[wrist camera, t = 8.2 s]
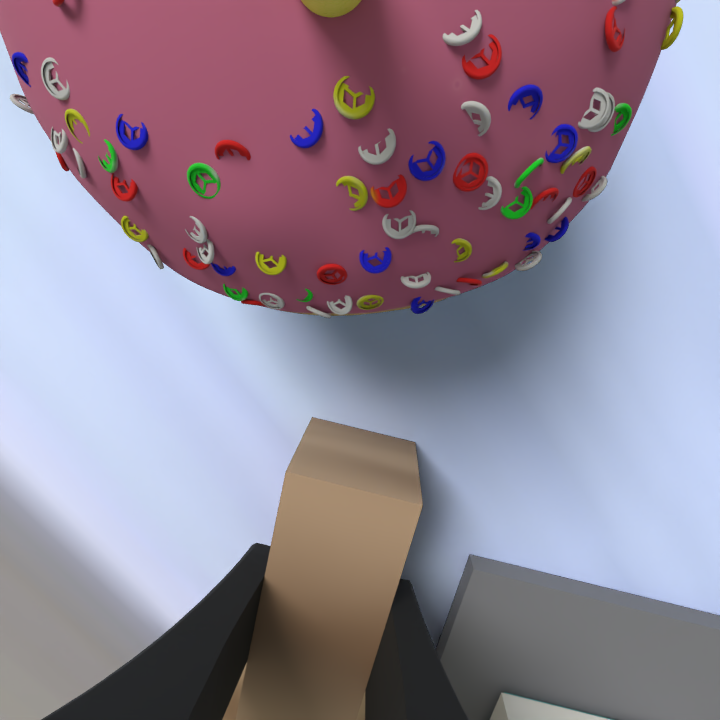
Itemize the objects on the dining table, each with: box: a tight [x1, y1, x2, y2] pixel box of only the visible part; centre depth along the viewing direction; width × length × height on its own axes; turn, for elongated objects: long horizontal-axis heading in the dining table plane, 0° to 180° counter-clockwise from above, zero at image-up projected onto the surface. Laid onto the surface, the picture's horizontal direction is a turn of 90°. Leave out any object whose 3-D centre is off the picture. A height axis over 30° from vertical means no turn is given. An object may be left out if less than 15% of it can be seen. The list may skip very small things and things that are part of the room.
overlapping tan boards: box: [222, 417, 423, 720], centre depth 12 cm, size 14×5×3 cm, turn 167°
